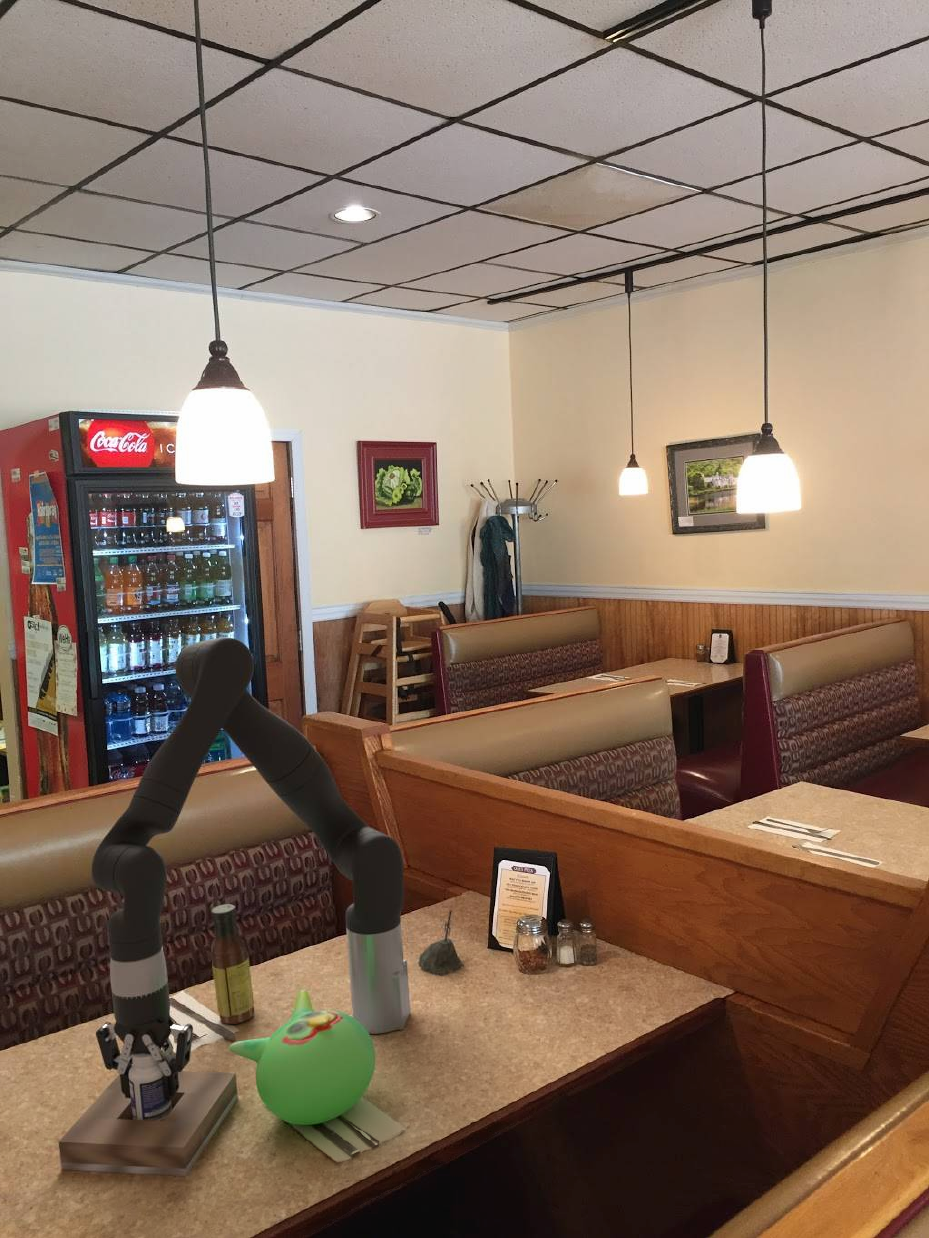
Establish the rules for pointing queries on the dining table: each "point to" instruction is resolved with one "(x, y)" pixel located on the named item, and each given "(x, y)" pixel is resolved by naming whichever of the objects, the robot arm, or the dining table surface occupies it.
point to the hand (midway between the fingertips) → (150, 1095)
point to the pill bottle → (147, 1089)
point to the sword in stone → (441, 956)
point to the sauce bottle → (231, 968)
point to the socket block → (149, 1129)
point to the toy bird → (311, 1064)
